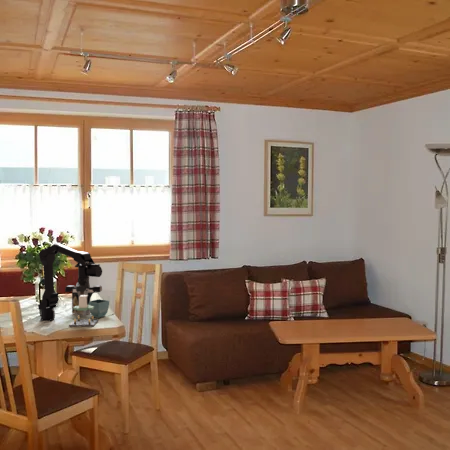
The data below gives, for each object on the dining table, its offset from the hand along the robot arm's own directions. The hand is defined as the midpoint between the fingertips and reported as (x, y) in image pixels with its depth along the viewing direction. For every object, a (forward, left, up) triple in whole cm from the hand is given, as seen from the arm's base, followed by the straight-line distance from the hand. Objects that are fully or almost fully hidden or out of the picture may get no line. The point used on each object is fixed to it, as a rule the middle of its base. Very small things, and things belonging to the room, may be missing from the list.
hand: (83, 304), depth 299 cm
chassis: (0, 0, -11) cm, 11 cm away
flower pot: (+4, +19, -11) cm, 22 cm away
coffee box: (-8, +27, -11) cm, 30 cm away
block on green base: (0, 0, -2) cm, 2 cm away
